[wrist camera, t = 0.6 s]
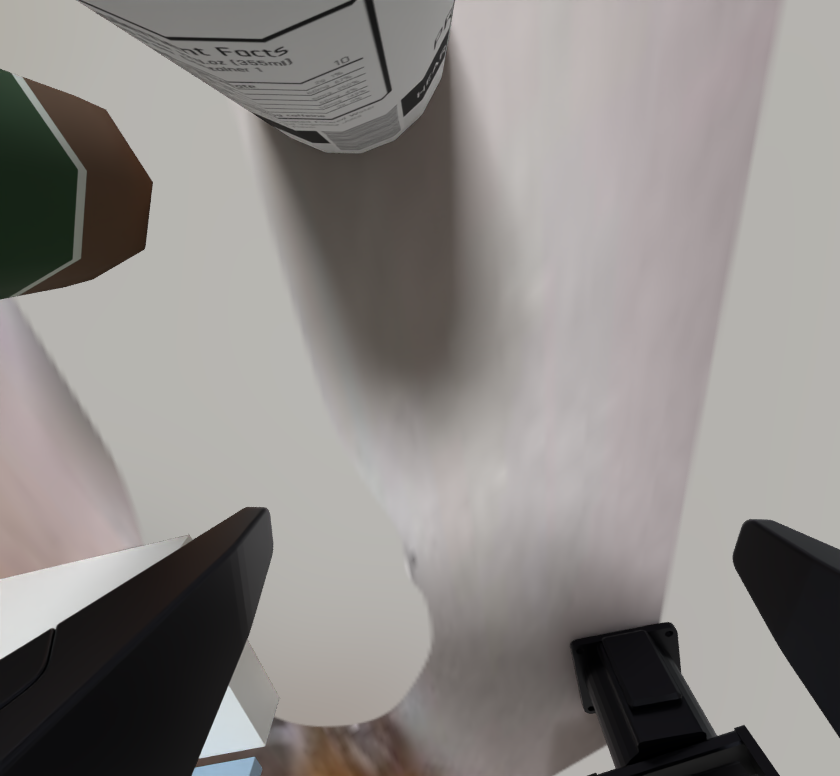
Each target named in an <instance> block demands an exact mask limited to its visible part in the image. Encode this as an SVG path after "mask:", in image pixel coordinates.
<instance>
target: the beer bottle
mask: <svg viewBox="0 0 840 776" xmlns="http://www.w3.org/2000/svg"><path fill="white" fill-rule="evenodd" d="M152 184H153V182H152V181H151V179H150V177H149V176H148V174H147V173H146V171H145V169H144V168H143V166H142V165H141V163H140V162H139V160H138V159H137V157H136V156H135V154H134V152H133V151H132V149H131V148H130V146H129V145H128V143H127V142H126V140H125V138H124V137H123V136H122V134H121V132H120V131H119V129H118V128H117V126H116V125H115V123H114V121H113V120H112V119H111V117H110V115H109V114H108V112H107V111H106V110H105V109H103V108H101V107H99V106H96V105H94V104H92V103H90V102H87V101H85V100H83V99H81V98H79V97H76V96H74V95H71V94H68V93H66V92H63V91H60V90H57V89H54V88H52V87H49V86H46V85H43V84H40V83H38V82H35V81H32V80H30V79H27V78H24V77H21V76H19V75H16V74H13V73H10V72H7V71H5V70H2V69H0V299H5V298H10V297H15V296H20V295H26V294H31V293H36V292H42V291H47V290H52V289H57V288H63V287H67V286H71V285H74V284H78V283H81V282H85V281H88V280H92V279H94V278H96V277H98V276H99V275H101V274H103V273H105V272H106V271H108V270H110V269H112V268H113V267H115V266H117V265H118V264H120V263H122V262H124V261H125V260H127V259H129V258H130V257H132V256H134V255H136V254H137V253H139V252H141V251H142V250H144V249H145V245H146V237H147V228H148V219H149V211H150V202H151V193H152Z"/></svg>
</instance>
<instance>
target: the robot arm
mask: <svg viewBox="0 0 840 776" xmlns="http://www.w3.org/2000/svg"><path fill="white" fill-rule="evenodd" d="M272 553H273V537H272V527H271V518H270V513H269V510H268V509H267V508H264V507H246V508H244V509H242V510H240V511H239V512H237V513H235V514H234V515H232V516H231V517H229V518H227V519H226V520H224V521H223V522H221V523H219V524H218V525H216V526H215V527H213V528H211V529H210V530H208V531H207V532H205V533H203V534H202V535H200V536H198V537H197V538H195V539H194V540H192V541H190V542H189V543H187V544H186V545H184V546H182V547H181V548H179V549H178V550H176V551H174V552H173V553H171V554H170V555H168V556H166V557H165V558H163V559H162V560H160V561H158V562H157V563H155V564H153V565H152V566H150V567H149V568H147V569H145V570H144V571H142V572H141V573H139V574H137V575H136V576H134V577H133V578H131V579H129V580H128V581H126V582H125V583H123V584H121V585H120V586H118V587H116V588H115V589H113V590H112V591H110V592H108V593H107V594H105V595H104V596H102V597H100V598H99V599H97V600H96V601H94V602H92V603H91V604H89V605H88V606H86V607H84V608H83V609H81V610H79V611H78V612H76V613H75V614H73V615H71V616H70V617H68V618H67V619H65V620H63V621H62V622H60V623H59V624H58V625H57V626H56V629H55V628H50V629H49V630H47V631H46V632H44V633H42V634H41V635H39V636H38V637H36V638H34V639H33V640H31V641H29V642H28V643H26V644H25V645H23V646H21V647H20V648H18V649H16V650H15V651H13V652H11V653H10V654H8V655H6V656H5V657H3V658H2V659H0V776H192V774H193V771H194V769H195V766H196V764H197V761H198V759H199V757H200V754H201V752H202V749H203V747H204V744H205V742H206V739H207V737H208V735H209V732H210V730H211V727H212V725H213V722H214V720H215V717H216V715H217V713H218V710H219V708H220V705H221V703H222V700H223V698H224V695H225V693H226V691H227V688H228V686H229V683H230V681H231V678H232V676H233V674H234V671H235V669H236V666H237V664H238V661H239V659H240V656H241V654H242V652H243V649H244V647H245V644H246V641H247V638H248V636H249V633H250V630H251V626H252V623H253V620H254V617H255V613H256V610H257V606H258V603H259V599H260V596H261V592H262V589H263V585H264V582H265V579H266V575H267V572H268V568H269V565H270V561H271V558H272ZM733 563H734V566H735V569H736V571H737V573H738V574H739V576H740V578H741V580H742V582H743V583H744V585H745V587H746V589H747V591H748V592H749V594H750V596H751V598H752V600H753V601H754V603H755V605H756V607H757V608H758V610H759V612H760V614H761V616H762V618H763V619H764V621H765V623H766V625H767V626H768V628H769V630H770V632H771V634H772V636H773V637H774V639H775V641H776V642H777V644H778V646H779V648H780V649H781V651H782V652H783V654H784V655H785V657H786V659H787V660H788V662H789V663H790V665H791V666H792V667H793V669H794V671H795V672H796V674H797V675H798V676H799V678H800V679H801V681H802V682H803V684H804V685H805V687H806V688H807V690H808V691H809V693H810V694H811V696H812V697H813V699H814V700H815V702H816V703H817V705H818V706H819V708H820V709H821V711H822V712H823V714H824V715H825V717H826V718H827V720H828V721H829V723H830V724H831V726H832V727H833V729H834V730H835V732H836V733H837V735H838V736H839V738H840V550H839V549H837V548H835V547H833V546H830V545H828V544H826V543H823V542H821V541H819V540H816V539H814V538H812V537H810V536H807V535H805V534H803V533H800V532H798V531H796V530H793V529H791V528H789V527H787V526H784V525H782V524H779V523H777V522H775V521H772V520H762V519H749V520H747V521H745V522H744V523H743V525H742V527H741V531H740V534H739V537H738V540H737V543H736V546H735V549H734V552H733ZM570 648H571V653H572V658H573V662H574V667H575V672H576V677H577V681H578V686H579V691H580V696H581V701H582V705H583V708H584V710H585V712H586V713H589V714H593V713H596V715H597V717H598V720H599V723H600V726H601V728H602V731H603V734H604V737H605V740H606V742H607V745H608V748H609V751H610V754H611V756H612V759H613V762H614V765H615V768H616V769H614V770H610V771H608V772H604V773H601V774H598V775H597V774H596V773H594V774H591V775H588V776H780V775H779V774H778V772H777V771H776V770H775V768H774V767H773V765H772V764H771V762H770V761H769V760H768V758H767V757H766V755H765V754H764V752H763V751H762V750H761V748H760V747H759V745H758V744H757V742H756V741H755V739H754V738H753V737H752V735H751V734H750V732H749V731H748V730H747V728H746V727H745V725H743V726H740V727H736V728H734V729H735V731H732V732H729V733H726V734H722V735H720V736H717V735H716V733H715V731H714V730H713V728H712V726H711V724H710V723H709V721H708V719H707V717H706V716H705V714H704V712H703V710H702V709H701V707H700V705H699V704H698V702H697V700H696V698H695V697H694V695H693V693H692V691H691V690H690V688H689V686H688V685H687V683H686V681H685V679H684V678H683V676H682V674H681V666H680V655H679V644H678V633H677V630H676V628H675V627H674V625H673V624H672V623H669V622H665V623H660V624H655V625H650V626H644V627H639V628H634V629H629V630H624V631H619V632H614V633H609V634H603V635H598V636H593V637H588V638H583V639H578V640H575V641H573V642H572V643H571V644H570Z"/></svg>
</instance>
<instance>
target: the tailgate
mask: <svg viewBox="0 0 840 776" xmlns="http://www.w3.org/2000/svg"><path fill="white" fill-rule="evenodd" d="M261 772H262V767H261V765H260V764H259V762H258V761H257V759H256V757H251V758H245V759H240V760H234V761H229V762H223V763H218V764H212V765H207V766H201V767H196V768H195V769H194V771H193V774H192V776H261Z"/></svg>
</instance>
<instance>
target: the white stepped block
mask: <svg viewBox="0 0 840 776" xmlns="http://www.w3.org/2000/svg"><path fill="white" fill-rule="evenodd" d="M190 541H192V538H191V537H190V535H186V536H182V537H178V538H173V539H169V540H165V541H161V542H157V543H152V544H148V545H143V546H139V547H135V548H131V549H126V550H122V551H118V552H114V553H109V554H105V555H101V556H97V557H92V558H88V559H84V560H80V561H75V562H71V563H67V564H63V565H58V566H54V567H50V568H46V569H41V570H37V571H33V572H29V573H24V574H20V575H16V576H12V577H7V578H3V579H0V659H2V658H3V657H5V656H6V655H8V654H10V653H11V652H13V651H15V650H16V649H18V648H20V647H21V646H23V645H25V644H26V643H28V642H29V641H31V640H33V639H34V638H36V637H38V636H39V635H41V634H42V633H44V632H46V631H47V630H49V629H50V628H55V629H56V626H57V625H58V624H59V623H60V622H62V621H63V620H65V619H67V618H68V617H70V616H71V615H73V614H75V613H76V612H78V611H79V610H81V609H83V608H84V607H86V606H88V605H89V604H91V603H92V602H94V601H96V600H97V599H99V598H100V597H102V596H104V595H105V594H107V593H108V592H110V591H112V590H113V589H115V588H116V587H118V586H120V585H121V584H123V583H125V582H126V581H128V580H129V579H131V578H133V577H134V576H136V575H137V574H139V573H141V572H142V571H144V570H145V569H147V568H149V567H150V566H152V565H153V564H155V563H157V562H158V561H160V560H162V559H163V558H165V557H166V556H168V555H170V554H171V553H173V552H174V551H176V550H178V549H179V548H181V547H182V546H184V545H186V544H187V543H189V542H190ZM278 701H279V696H278V694H277V692H276V690H275V688H274V687H273V685H272V683H271V681H270V679H269V678H268V676H267V674H266V672H265V670H264V669H263V667H262V665H261V663H260V661H259V660H258V658H257V656H256V654H255V652H254V650H253V649H252V647H251V645H250V643H249V641H248V640H247V641H246V644H245V647H244V649H243V652H242V654H241V656H240V659H239V661H238V664H237V666H236V669H235V671H234V674H233V676H232V678H231V681H230V683H229V686H228V688H227V691H226V693H225V695H224V698H223V700H222V703H221V705H220V708H219V710H218V713H217V715H216V717H215V720H214V722H213V725H212V727H211V730H210V732H209V735H208V737H207V739H206V742H205V744H204V747H203V749H202V752H201V754H200V757H199V758H205V757H210V756H215V755H221V754H226V753H232V752H237V751H242V750H248V749H253V748H259V747H264V746H266V742H267V739H268V736H269V732H270V729H271V725H272V722H273V718H274V715H275V711H276V708H277V705H278Z"/></svg>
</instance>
